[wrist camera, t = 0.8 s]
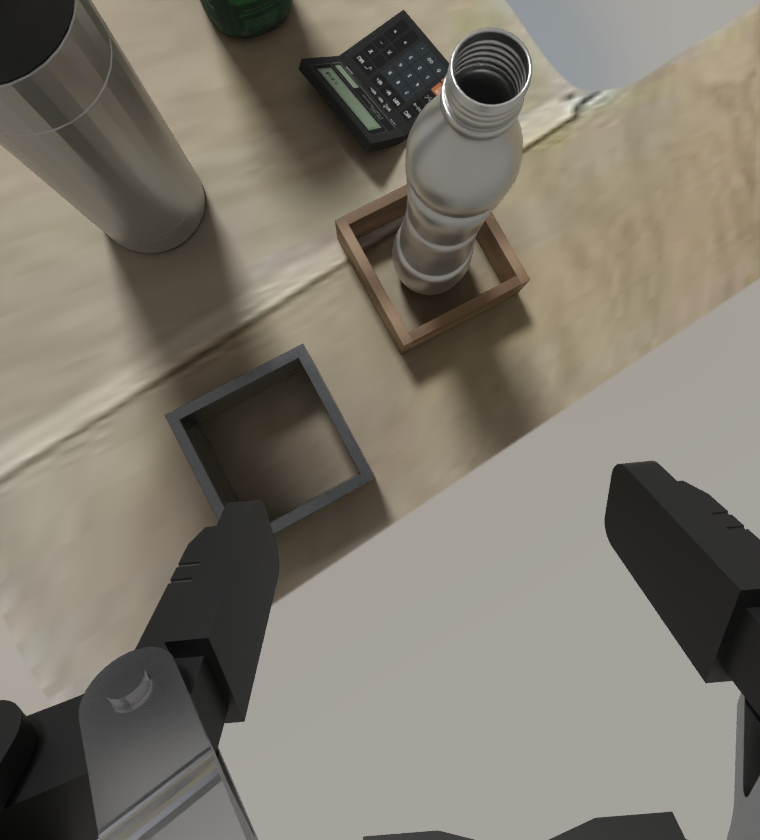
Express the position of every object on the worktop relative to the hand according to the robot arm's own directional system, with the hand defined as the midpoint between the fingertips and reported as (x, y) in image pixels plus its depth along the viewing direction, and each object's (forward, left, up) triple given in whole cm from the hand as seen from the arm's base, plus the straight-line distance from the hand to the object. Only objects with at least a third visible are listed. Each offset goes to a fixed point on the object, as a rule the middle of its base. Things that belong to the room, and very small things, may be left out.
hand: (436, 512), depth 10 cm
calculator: (-30, +16, -28) cm, 44 cm away
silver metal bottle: (-14, +12, -27) cm, 33 cm away
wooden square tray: (-14, +12, -27) cm, 33 cm away
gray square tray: (-6, -7, -27) cm, 29 cm away
